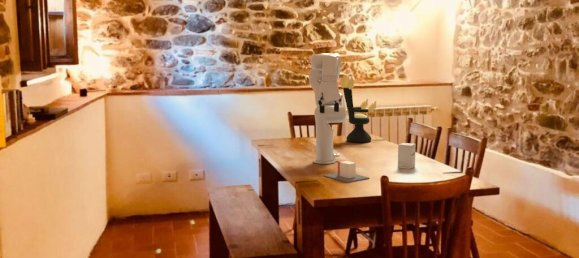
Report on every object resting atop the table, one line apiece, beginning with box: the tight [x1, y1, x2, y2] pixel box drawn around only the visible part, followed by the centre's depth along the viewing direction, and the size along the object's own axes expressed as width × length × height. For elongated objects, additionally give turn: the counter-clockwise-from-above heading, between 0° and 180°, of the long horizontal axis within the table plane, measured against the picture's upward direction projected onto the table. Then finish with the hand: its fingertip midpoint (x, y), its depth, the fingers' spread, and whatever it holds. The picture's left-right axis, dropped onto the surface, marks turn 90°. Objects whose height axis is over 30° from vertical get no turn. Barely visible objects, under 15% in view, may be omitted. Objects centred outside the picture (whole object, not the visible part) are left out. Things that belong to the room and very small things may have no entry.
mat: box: [323, 172, 370, 184], centre depth 303 cm, size 14×18×1 cm
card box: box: [337, 160, 357, 178], centre depth 303 cm, size 8×4×7 cm, turn 37°
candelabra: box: [340, 74, 377, 144], centre depth 410 cm, size 19×22×45 cm
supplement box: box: [397, 142, 417, 170], centre depth 327 cm, size 7×7×13 cm
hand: (329, 112), depth 317 cm, fingers open, 9 cm apart
